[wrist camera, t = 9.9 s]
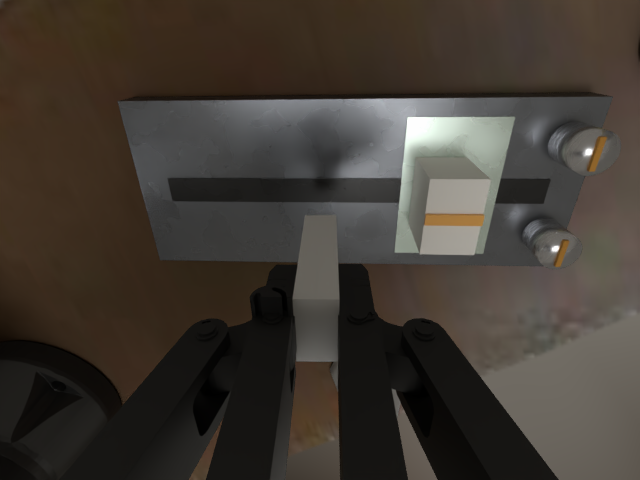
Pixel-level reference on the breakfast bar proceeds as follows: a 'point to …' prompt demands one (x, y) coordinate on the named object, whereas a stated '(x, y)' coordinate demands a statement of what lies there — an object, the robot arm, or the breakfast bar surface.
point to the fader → (447, 205)
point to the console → (362, 171)
